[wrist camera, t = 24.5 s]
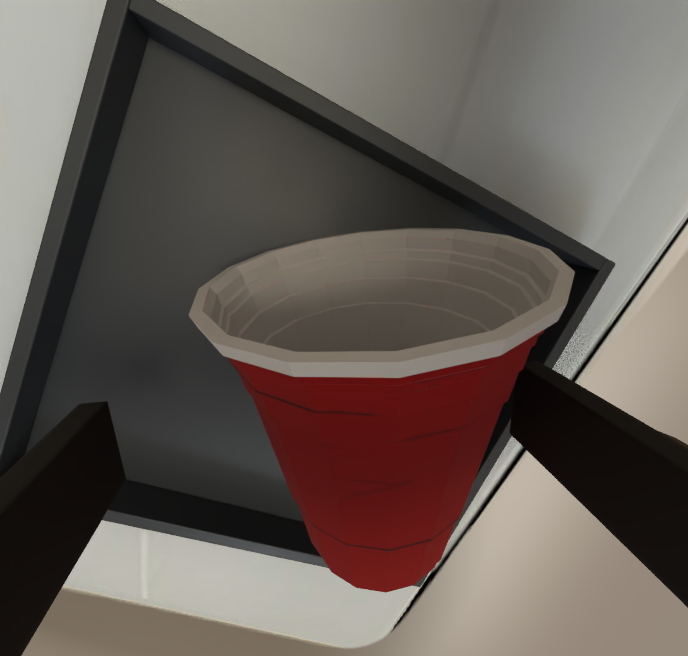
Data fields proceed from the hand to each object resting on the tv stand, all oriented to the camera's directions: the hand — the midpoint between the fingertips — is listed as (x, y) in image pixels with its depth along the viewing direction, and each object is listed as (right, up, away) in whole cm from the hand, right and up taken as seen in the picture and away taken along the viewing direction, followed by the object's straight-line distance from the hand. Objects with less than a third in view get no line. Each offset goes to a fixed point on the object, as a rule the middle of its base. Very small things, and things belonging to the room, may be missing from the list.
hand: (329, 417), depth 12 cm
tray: (-1, +2, +6) cm, 6 cm away
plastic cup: (+2, -6, +4) cm, 8 cm away
